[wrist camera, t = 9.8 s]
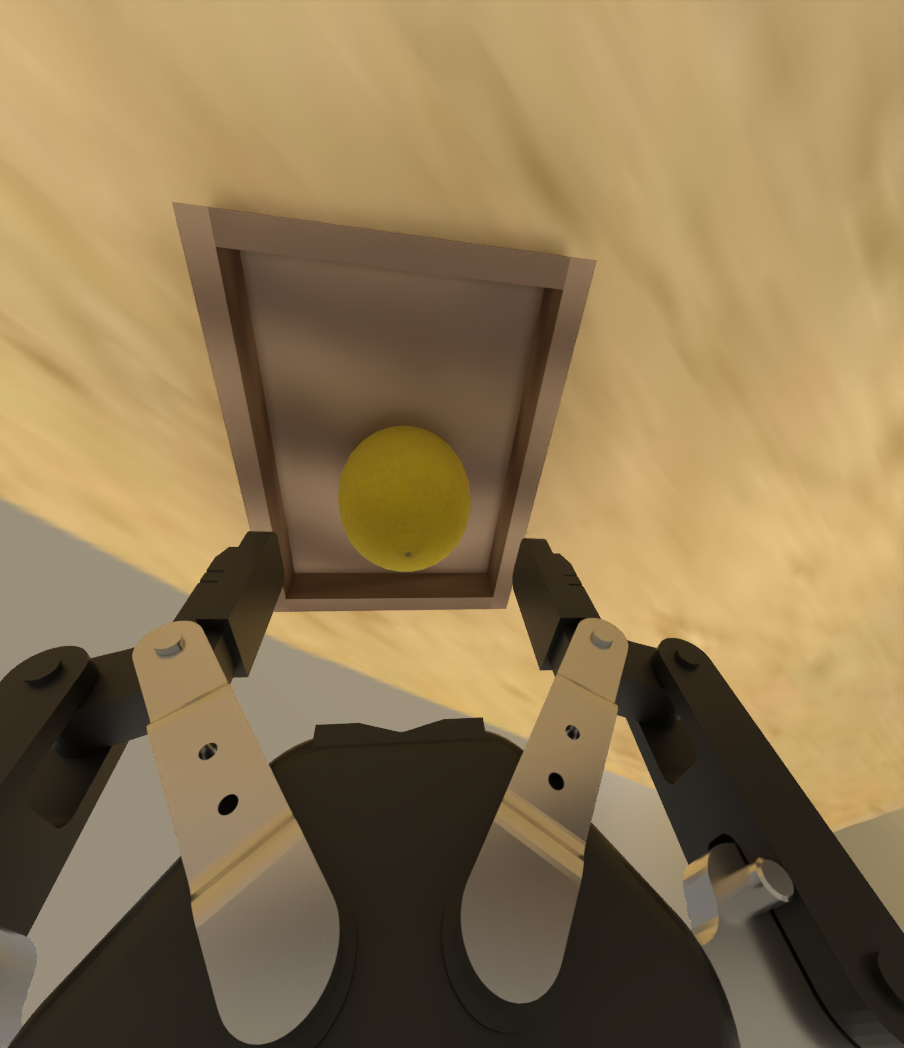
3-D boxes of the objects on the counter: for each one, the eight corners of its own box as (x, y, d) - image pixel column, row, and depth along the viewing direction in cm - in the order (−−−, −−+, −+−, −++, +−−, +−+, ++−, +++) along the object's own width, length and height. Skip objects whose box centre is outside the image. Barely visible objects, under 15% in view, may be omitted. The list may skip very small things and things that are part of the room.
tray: (212, 213, 14) (172, 202, 11) (566, 261, 16) (596, 260, 14) (283, 576, 24) (269, 611, 21) (496, 576, 26) (506, 608, 24)
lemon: (332, 477, 19) (300, 584, 13) (377, 380, 17) (365, 453, 11) (425, 516, 22) (438, 625, 15) (477, 435, 19) (519, 524, 13)
